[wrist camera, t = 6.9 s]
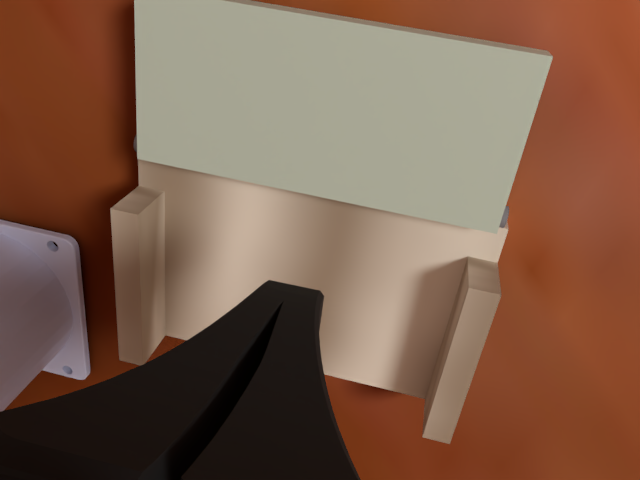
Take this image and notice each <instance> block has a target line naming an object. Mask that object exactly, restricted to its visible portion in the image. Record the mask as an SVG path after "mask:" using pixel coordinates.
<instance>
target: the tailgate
mask: <svg viewBox="0 0 640 480" xmlns="http://www.w3.org/2000/svg"><path fill="white" fill-rule="evenodd" d="M134 19H135V70H136V121H137V134H136V136H135V139H134V150H135V151H136V152H137V159H140V160H145V161H149V162H154V163H159V164H164V165H169V166H173V167H178V168H183V169H188V170H193V171H197V172H202V173H207V174H212V175H216V176H221V177H226V178H231V179H236V180H240V181H245V182H250V183H255V184H260V185H264V186H269V187H274V188H279V189H284V190H288V191H293V192H298V193H303V194H308V195H312V196H317V197H322V198H327V199H332V200H336V201H341V202H346V203H351V204H356V205H360V206H365V207H370V208H375V209H380V210H384V211H389V212H394V213H399V214H403V215H408V216H413V217H418V218H423V219H427V220H432V221H437V222H442V223H447V224H451V225H456V226H461V227H466V228H471V229H475V230H480V231H485V232H490V233H495V234H497V232H498V229H499V227H500V228H504V227H505V225H506V222H507V219H508V214H509V206H506V204H507V200H508V197H509V194H510V191H511V188H512V185H513V181H514V178H515V175H516V172H517V169H518V166H519V162H520V159H521V156H522V153H523V150H524V147H525V144H526V140H527V137H528V134H529V131H530V128H531V125H532V121H533V118H534V115H535V112H536V109H537V106H538V102H539V99H540V96H541V93H542V90H543V87H544V84H545V80H546V77H547V74H548V71H549V68H550V65H551V61H552V58H553V56H552V55H551V54H550V53H549V52H548V51H546V50H540V49H534V48H528V47H522V46H516V45H510V44H505V43H499V42H493V41H487V40H481V39H475V38H469V37H463V36H457V35H451V34H445V33H440V32H434V31H428V30H422V29H416V28H410V27H404V26H398V25H392V24H386V23H381V22H375V21H369V20H363V19H357V18H351V17H345V16H339V15H333V14H327V13H321V12H316V11H310V10H304V9H298V8H292V7H286V6H280V5H274V4H268V3H262V2H257V1H251V0H134Z"/></svg>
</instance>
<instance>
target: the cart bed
mask: <svg viewBox="0 0 640 480" xmlns="http://www.w3.org/2000/svg"><path fill="white" fill-rule="evenodd" d="M138 177H139V186H138V187H137V188H135V189H134V190H133V191H132V192H130V193H129V194H128V195H127V196H125V197H124V198H123V199H122V200H120V201H119V202H118V203H117V204H115V205H114V206H113V207H112V208H110V213H111V229H112V246H113V263H114V280H115V296H116V313H117V330H118V347H119V360H121V361H125V362H129V363H132V364H136V365H140V366H141V365H143V364H145V363H146V361H147V360H148V359H149V357H150V356H151V355H152V353H153V352H154V350H155V349H156V348H157V346H158V345H159V343H160V342H161V341H162V339H163V338H164V337H165V335H167V336H171V337H175V338H179V339H183V340H188V339H190V338H191V337H193V336H194V335H196V334H197V333H199V332H201V331H202V330H204V329H205V328H207V327H208V326H210V325H211V324H212V323H214V322H215V321H216V320H218V319H219V318H221V317H222V316H223V315H225V314H226V313H227V312H229V311H230V310H231V309H233V308H234V307H235V306H236V305H238V304H239V303H240V302H241V301H243V300H244V299H245V298H246V297H248V296H249V295H250V294H251V293H253V292H254V291H255V290H256V289H257V288H259V287H260V286H261V285H262V284H263V283H265V282H266V281H268V280H272V281H277V282H282V283H287V284H291V285H296V286H301V287H306V288H310V289H315V290H320V291H321V292H322V294H323V295H324V301H323V309H322V316H321V323H320V330H319V338H320V350H321V358H322V365H323V371H324V374H326V375H330V376H334V377H338V378H342V379H346V380H350V381H354V382H358V383H362V384H366V385H370V386H374V387H378V388H383V389H387V390H391V391H395V392H399V393H403V394H407V395H411V396H415V397H419V398H423V399H425V407H424V422H423V436H422V437H424V438H428V439H432V440H436V441H440V442H444V443H448V444H450V441H451V438H452V436H453V433H454V430H455V427H456V424H457V421H458V418H459V415H460V413H461V410H462V407H463V404H464V401H465V398H466V395H467V392H468V389H469V387H470V384H471V381H472V378H473V375H474V372H475V369H476V366H477V364H478V361H479V358H480V355H481V352H482V349H483V346H484V343H485V341H486V338H487V335H488V332H489V329H490V326H491V323H492V320H493V318H494V315H495V312H496V309H497V306H498V303H499V300H500V297H501V288H500V280H499V271H498V260H499V257H500V254H501V251H502V248H503V245H504V241H505V238H506V235H507V232H508V223H507V222H506V225H505V227H504V228H500V227H499V229H498V232H497V234H495V233H490V232H485V231H480V230H475V229H471V228H466V227H461V226H456V225H451V224H447V223H442V222H437V221H432V220H427V219H423V218H418V217H413V216H408V215H403V214H399V213H394V212H389V211H384V210H380V209H375V208H370V207H365V206H360V205H356V204H351V203H346V202H341V201H336V200H332V199H327V198H322V197H317V196H312V195H308V194H303V193H298V192H293V191H288V190H284V189H279V188H274V187H269V186H264V185H260V184H255V183H250V182H245V181H240V180H236V179H231V178H226V177H221V176H216V175H212V174H207V173H202V172H197V171H193V170H188V169H183V168H178V167H173V166H169V165H164V164H159V163H154V162H149V161H145V160H140V159H138Z"/></svg>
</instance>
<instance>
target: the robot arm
mask: <svg viewBox="0 0 640 480" xmlns="http://www.w3.org/2000/svg"><path fill="white" fill-rule="evenodd" d="M53 242H55V243H56V244H57V245H58V247H57V246H56V245H55V244H54V243H53ZM323 301H324V295H323V294H322V292H321V291H320V290H315V289H310V288H306V287H301V286H296V285H291V284H287V283H282V282H277V281H272V280H268V281H266V282H265V283H263V284H262V285H261V286H260V287H259V288H257V289H256V290H255V291H254V292H253V293H251V294H250V295H249V296H248V297H246V298H245V299H244V300H243V301H241V302H240V303H239V304H238V305H236V306H235V307H234V308H233V309H231V310H230V311H229V312H227V313H226V314H225V315H223V316H222V317H221V318H219V319H218V320H216V321H215V322H214V323H212V324H211V325H210V326H208V327H207V328H205V329H204V330H202V331H201V332H199V333H197V334H196V335H194V336H193V337H191V338H190V339H188V340H187V341H185V342H184V343H182V344H180V345H179V346H177V347H175V348H174V349H172V350H170V351H168V352H167V353H165V354H163V355H161V356H159V357H157V358H155V359H153V360H152V361H149V362H147V363H145V364H143V365H141V366H139V367H136V368H134V369H132V370H129V371H127V372H125V373H122V374H120V375H118V376H116V377H113V378H111V379H109V380H106V381H103V382H101V383H98V384H95V385H92V386H90V387H87V388H84V389H81V390H78V391H75V392H72V393H69V394H66V395H63V396H59V397H56V398H52V399H49V400H45V401H41V402H37V403H33V404H29V405H26V406H22V407H18V408H14V409H10V410H5V408H6V407H7V406H8V405H9V404H10V403H11V402H12V401H13V400H14V399H15V398H16V397H17V396H18V395H19V394H20V393H21V392H22V391H23V389H24V388H25V387H26V386H27V385H28V384H29V383H30V382H31V381H32V380H33V379H34V378H35V377H36V376H37V375H38V374H39V373H40V371H41V370H43V371H47V372H51V373H55V374H59V375H63V376H66V377H70V378H74V379H78V380H83V379H85V378H86V377H87V376H88V375H89V374H90V359H89V349H88V338H87V327H86V317H85V306H84V295H83V284H82V274H81V263H80V252H79V246H78V243H77V241H76V240H75V239H74V238H73V237H71V236H69V235H66V234H61V233H57V232H53V231H48V230H44V229H40V228H35V227H31V226H26V225H22V224H18V223H13V222H9V221H5V220H0V480H360V478H359V476H358V474H357V471H356V469H355V467H354V465H353V463H352V461H351V459H350V456H349V454H348V451H347V449H346V446H345V444H344V441H343V438H342V436H341V433H340V431H339V428H338V425H337V422H336V419H335V416H334V413H333V410H332V406H331V402H330V399H329V395H328V391H327V386H326V382H325V377H324V371H323V365H322V358H321V350H320V338H319V330H320V323H321V316H322V309H323ZM4 410H5V411H4Z"/></svg>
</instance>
